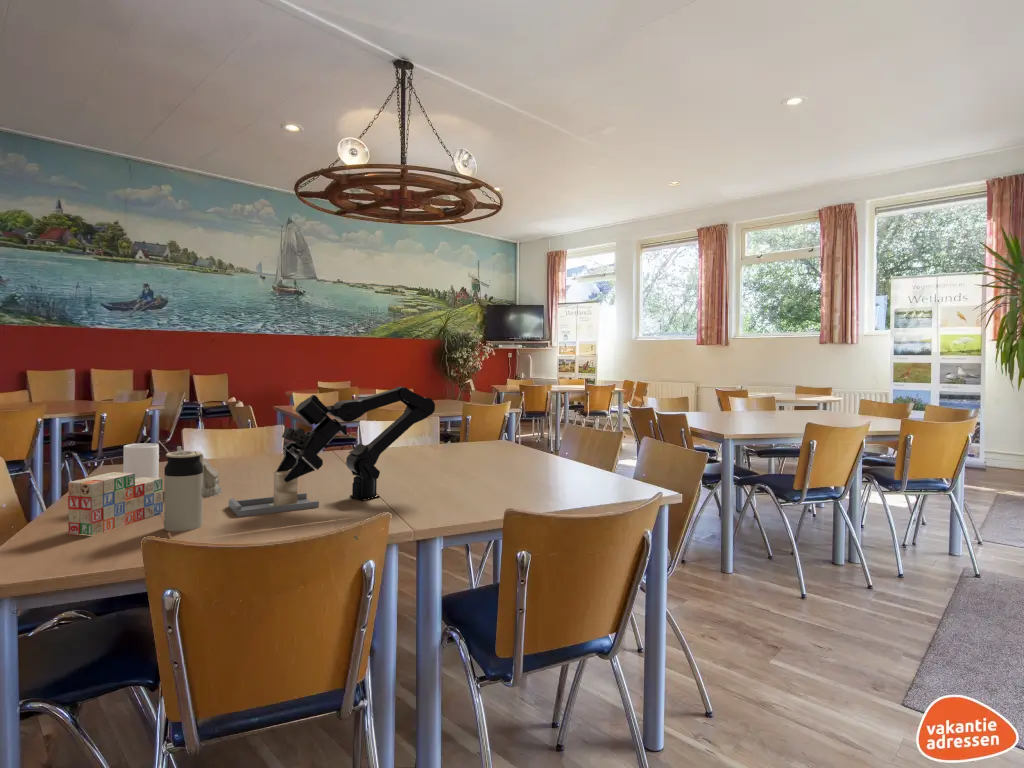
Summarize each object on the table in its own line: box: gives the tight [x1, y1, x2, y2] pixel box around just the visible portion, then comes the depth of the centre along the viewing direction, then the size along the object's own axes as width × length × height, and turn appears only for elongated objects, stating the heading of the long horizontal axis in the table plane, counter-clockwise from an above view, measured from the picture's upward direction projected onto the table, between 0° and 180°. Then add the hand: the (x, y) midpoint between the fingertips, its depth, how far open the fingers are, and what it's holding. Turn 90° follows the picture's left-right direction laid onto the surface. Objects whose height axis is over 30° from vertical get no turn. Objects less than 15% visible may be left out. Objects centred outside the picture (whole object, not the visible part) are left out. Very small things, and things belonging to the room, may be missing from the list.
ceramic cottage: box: [176, 445, 223, 498], centre depth 177 cm, size 16×16×15 cm
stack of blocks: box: [67, 471, 164, 535], centre depth 142 cm, size 21×6×12 cm, turn 170°
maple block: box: [273, 470, 299, 506], centre depth 162 cm, size 5×5×9 cm
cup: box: [122, 442, 160, 479], centre depth 162 cm, size 8×8×16 cm
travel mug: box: [163, 450, 204, 532], centre depth 140 cm, size 8×8×18 cm
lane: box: [228, 492, 320, 518], centre depth 160 cm, size 21×12×3 cm, turn 126°
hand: (280, 478), depth 161 cm, fingers open, 9 cm apart
